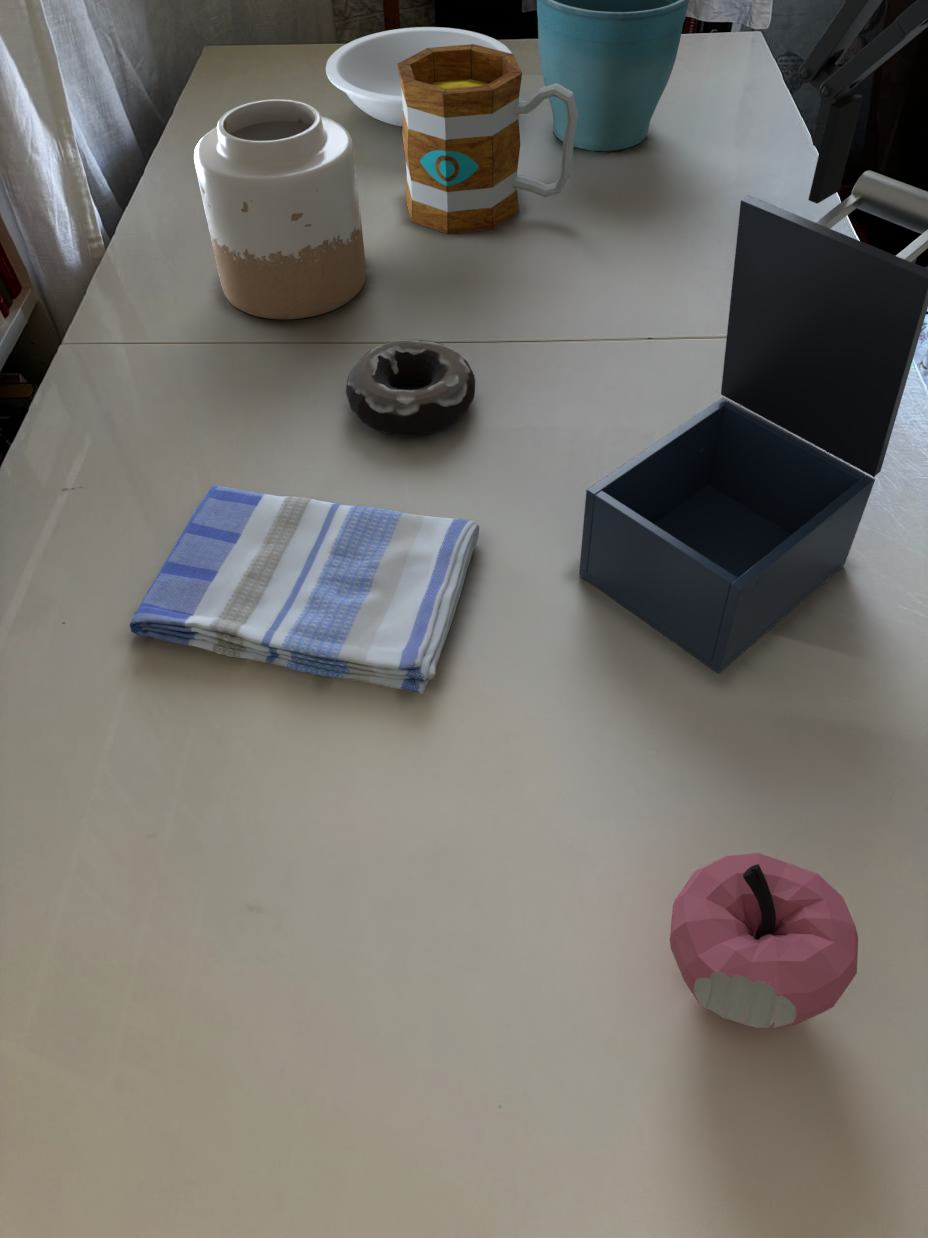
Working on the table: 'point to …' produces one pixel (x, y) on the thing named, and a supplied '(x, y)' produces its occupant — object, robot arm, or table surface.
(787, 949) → the apple
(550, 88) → the mug
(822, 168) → the robot arm
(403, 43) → the soup bowl
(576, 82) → the flower pot
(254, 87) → the table surface
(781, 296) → the lid
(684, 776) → the table surface
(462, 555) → the dish towel
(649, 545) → the blue storage box
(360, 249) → the vase
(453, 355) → the donut
